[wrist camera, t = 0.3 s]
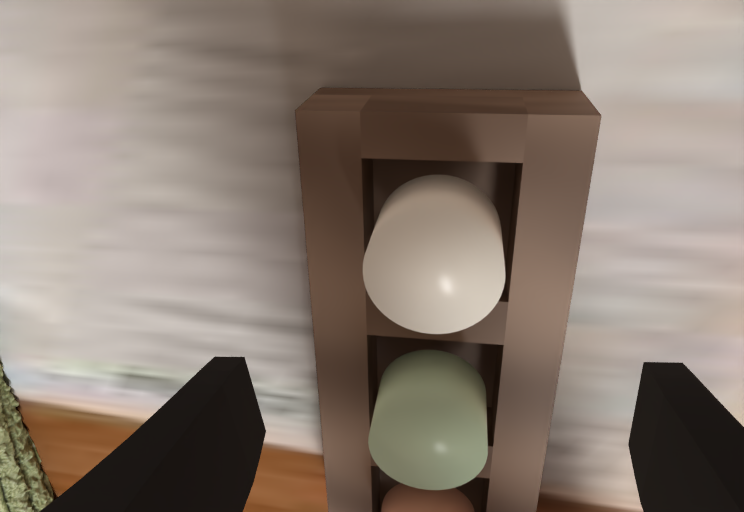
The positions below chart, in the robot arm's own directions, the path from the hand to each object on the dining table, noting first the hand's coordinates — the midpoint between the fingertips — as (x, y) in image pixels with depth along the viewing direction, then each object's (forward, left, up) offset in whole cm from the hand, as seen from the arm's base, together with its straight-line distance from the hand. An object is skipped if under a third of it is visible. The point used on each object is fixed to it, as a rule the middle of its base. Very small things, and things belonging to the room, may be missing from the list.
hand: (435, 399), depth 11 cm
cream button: (0, 0, -7) cm, 7 cm away
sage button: (-5, -3, -7) cm, 9 cm away
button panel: (-5, -3, -10) cm, 12 cm away
